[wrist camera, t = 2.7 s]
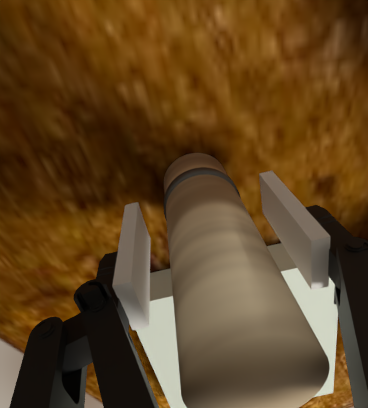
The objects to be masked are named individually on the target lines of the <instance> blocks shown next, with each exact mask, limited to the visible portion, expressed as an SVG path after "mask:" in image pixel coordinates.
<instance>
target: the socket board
mask: <svg viewBox="0 0 368 408" xmlns="http://www.w3.org/2000/svg"><path fill="white" fill-rule="evenodd" d="M267 248H268V250H269V252H270V253H271V255H272V257H273V259H274V261H275V263H276V264H277V266H278V268H279V270H280V272H281V273H282V275H283V277H284V279H285V281H286V283H287V284H288V286H289V288H290V290H291V292H292V293H293V295H294V297H295V299H296V301H297V303H298V304H299V306H300V308H301V310H302V312H303V313H304V315H305V317H306V319H307V321H308V323H309V324H310V326H311V328H312V330H313V332H314V333H315V335H316V337H317V339H318V341H319V343H320V344H321V346H322V348H323V350H324V352H325V353H326V355H327V357H328V360H329V366H330V369H329V375H328V378H327V380H326V382H325V384H324V385H323V387H322V388H321V389H320V391H319V392H318V393H317V394H316V395H315V396H314V397H316V396H321V395H325V394H330V393H333V386H334V370H335V354H336V337H337V321H338V310H337V304H334V288H335V284H334V283H333V281H332V280H331V279H330V277H329V286H328V287H324V288H320V289H315V290H311V289H310V287H309V286H308V284H307V283H306V281H305V279H304V278H303V276H302V275H301V273H300V271H299V270H298V268H297V267H296V265H295V263H294V262H293V260H292V259H291V257H290V255H289V254H288V252H287V251H286V249H285V247H284V246H283V244H282V243H280V244H275V245H271V246H267ZM136 332H137V334H138V336H139V338H140V341H141V343H142V345H143V347H144V350H145V352H146V354H147V356H148V358H149V361H150V363H151V365H152V367H153V370H154V372H155V374H156V376H157V378H158V381H159V383H160V385H161V387H162V390H163V392H164V394H165V396H166V398H167V401H168V403H169V405H170V407H171V408H187V407H186V406H185V404H184V402H183V400H182V396H181V386H180V374H179V362H178V351H177V339H176V327H175V315H174V303H173V291H172V279H171V268H170V269H166V270H161V271H157V272H153V273H150V310H149V327H145V328H141V329H136Z"/></svg>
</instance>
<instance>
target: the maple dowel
mask: <svg viewBox="0 0 368 408" xmlns="http://www.w3.org/2000/svg"><path fill="white" fill-rule="evenodd" d="M164 195H165V196H164V214H165V218H166V221H167V231H168V243H169V255H170V267H171V279H172V291H173V303H174V315H175V327H176V339H177V351H178V362H179V374H180V386H181V396H182V400H183V402H184V404H185V406H186V407H187V408H299V407H300V406H302V405H303V404H305V403H306V402H308V401H309V400H310V399H311V398H313V397H314V396H315V395H316V394H317V393H318V392H319V391H320V389H321V388H322V387H323V385H324V384H325V382H326V380H327V378H328V375H329V369H330V366H329V360H328V357H327V355H326V353H325V352H324V350H323V348H322V346H321V344H320V343H319V341H318V339H317V337H316V335H315V333H314V332H313V330H312V328H311V326H310V324H309V323H308V321H307V319H306V317H305V315H304V313H303V312H302V310H301V308H300V306H299V304H298V303H297V301H296V299H295V297H294V295H293V293H292V292H291V290H290V288H289V286H288V284H287V283H286V281H285V279H284V277H283V275H282V273H281V272H280V270H279V268H278V266H277V264H276V263H275V261H274V259H273V257H272V255H271V253H270V252H269V250H268V248H267V246H266V244H265V243H264V241H263V239H262V237H261V235H260V233H259V232H258V230H257V228H256V226H255V224H254V223H253V221H252V219H251V217H250V215H249V213H248V212H247V210H246V208H245V206H244V204H243V203H242V201H241V198H240V194H239V192H238V190H237V188H236V186H235V185H234V183H233V181H232V180H231V179H230V178H229V177H228V175H227V173H226V172H225V170H224V168H223V166H222V165H221V164H220V162H219V161H218V160H217V159H215V158H214V157H212V156H210V155H207V154H204V153H190V154H186V155H184V156H181V157H180V158H178V159H176V160H175V161H174V162H173V163H172V164H171V165H170V166H169V168H168V169H167V171H166V174H165V177H164Z"/></svg>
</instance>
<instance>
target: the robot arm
mask: <svg viewBox="0 0 368 408" xmlns="http://www.w3.org/2000/svg"><path fill="white" fill-rule="evenodd" d="M259 177H260V188H261V198H262V208H263V214H264V215H265V217H266V219H267V220H268V222H269V223H270V225H271V227H272V228H273V230H274V231H275V233H276V235H277V236H278V238H279V239H280V241H281V243H282V244H283V246H284V247H285V249H286V251H287V252H288V254H289V255H290V257H291V259H292V260H293V262H294V263H295V265H296V267H297V268H298V270H299V271H300V273H301V275H302V276H303V278H304V279H305V281H306V283H307V284H308V286H309V287H310V289H311V290H315V289H320V288H324V287H328V286H329V277H330V279H331V280H332V281H333V283H334V284H335V288H334V304H337V310H338V316H339V322H340V327H341V333H342V339H343V345H344V350H345V356H346V362H347V368H348V373H349V379H350V385H351V391H352V396H353V402H354V408H368V241H367V240H365V239H362V238H359V237H353V236H352V235H351V234H350V233H349V232H348V231H347V230H346V229H345V228H344V227H343V226H342V225H341V224H340V223H339V222H338V221H336V219H335V218H334V217H333V216H332V215H331V214H330V213H329V212H328V211H327V210H326V209H324V208H322V207H320V206H318V205H314V206H310V207H304V206H303V205H302V204H301V203H300V202H299V200H298V199H297V198H296V197H295V196H294V195H293V194H292V193H291V191H290V190H289V189H288V188H287V187H286V186H285V185H284V184H283V183H282V181H281V180H280V179H279V178H278V177H277V176H276V175H275V174H274V172H273V171H269V172H264V173H260V174H259ZM74 301H75V303H76V304H77V306H78V308H79V310H80V311H81V313H79V314H78V315H76V316H74V317H72V318H70V319H68V320H66V321H64V322H63V321H62V320H61V319H60V318H58V317H50V318H47V319H45V320H43V321H41V322H40V323H39V324H37V325H36V326H35V328H34V329H33V330H32V331H31V333H30V336H29V339H28V342H27V346H26V349H25V353H24V357H23V360H22V364H21V368H20V371H19V375H18V379H17V382H16V386H15V390H14V393H13V397H12V401H11V404H10V408H84V402H85V388H86V374H87V365H89V364H90V363H92V362H93V364H94V368H95V372H96V377H97V381H98V385H99V389H100V393H101V398H102V402H103V406H104V408H159V406H158V404H157V401H156V399H155V396H154V394H153V391H152V389H151V386H150V384H149V381H148V379H147V376H146V374H145V371H144V369H143V366H142V364H141V361H140V359H139V356H138V354H137V351H136V349H135V346H134V344H133V341H132V339H131V336H130V334H129V332H128V329H129V324H130V326H131V328H132V330H136V329H141V328H145V327H149V310H150V237H149V234H148V231H147V228H146V225H145V222H144V219H143V216H142V213H141V210H140V207H139V204H138V202H136V203H132V204H128V205H125V210H124V216H123V223H122V229H121V235H120V241H119V247H118V252H113V253H109V254H105V255H104V257H103V258H102V260H101V261H100V263H99V267H98V272H97V277H96V279H94V280H90V281H87V282H86V283H84V284H82V285H81V286H80V287H79V288H78V289H77V290H76V292H75V294H74Z"/></svg>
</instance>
